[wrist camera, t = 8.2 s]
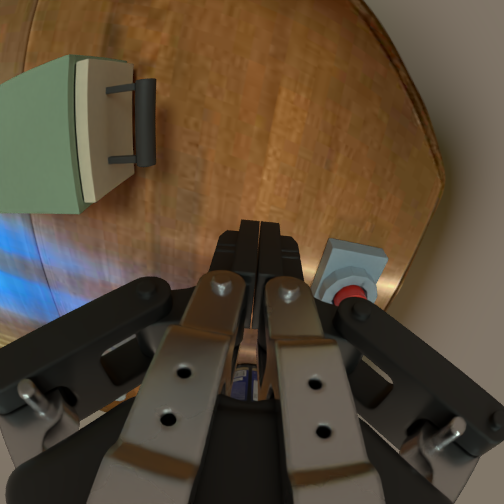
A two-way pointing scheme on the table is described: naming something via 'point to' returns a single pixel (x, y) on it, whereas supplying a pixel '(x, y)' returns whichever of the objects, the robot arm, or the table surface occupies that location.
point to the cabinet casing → (40, 140)
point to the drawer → (111, 125)
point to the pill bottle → (245, 383)
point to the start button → (348, 293)
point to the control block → (348, 269)
